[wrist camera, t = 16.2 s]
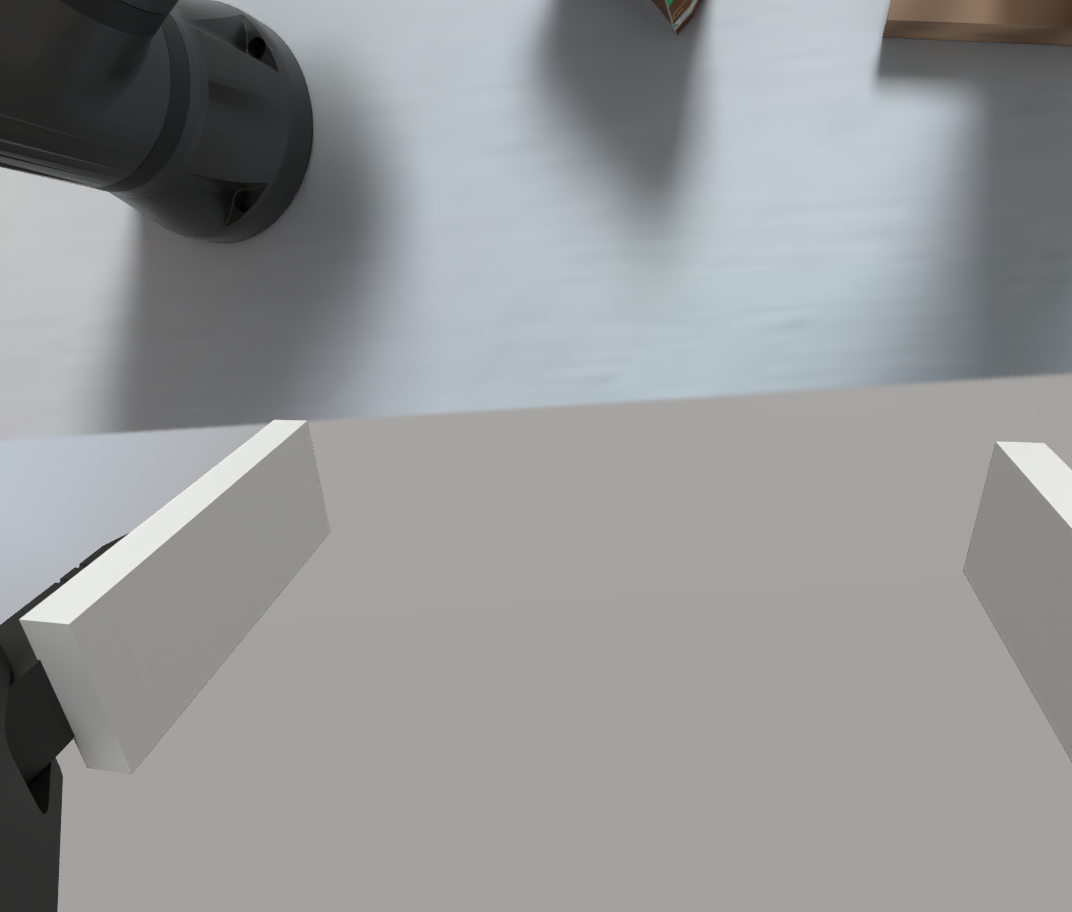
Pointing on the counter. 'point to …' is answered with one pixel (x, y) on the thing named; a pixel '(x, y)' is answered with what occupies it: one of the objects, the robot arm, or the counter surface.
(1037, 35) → the walnut shelf
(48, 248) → the counter surface
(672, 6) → the food container
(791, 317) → the counter surface
